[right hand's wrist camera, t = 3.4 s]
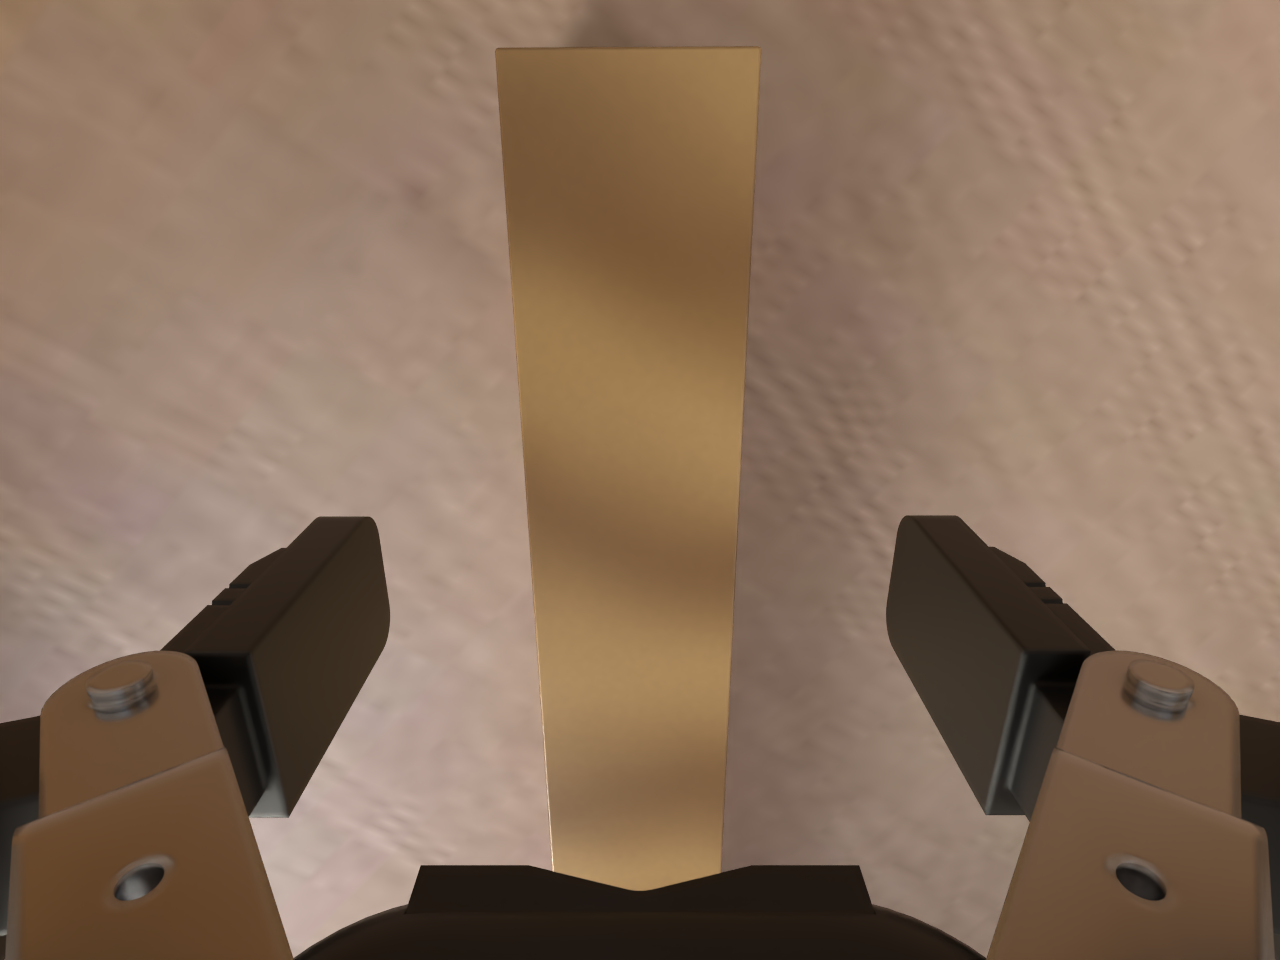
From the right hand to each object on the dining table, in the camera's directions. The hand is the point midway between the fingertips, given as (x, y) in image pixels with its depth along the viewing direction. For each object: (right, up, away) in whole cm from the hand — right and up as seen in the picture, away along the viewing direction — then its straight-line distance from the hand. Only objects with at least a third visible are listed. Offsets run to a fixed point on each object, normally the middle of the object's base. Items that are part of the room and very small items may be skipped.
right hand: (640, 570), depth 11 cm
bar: (0, -17, +19) cm, 25 cm away
